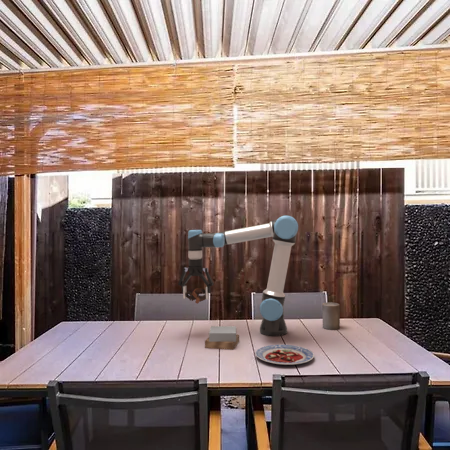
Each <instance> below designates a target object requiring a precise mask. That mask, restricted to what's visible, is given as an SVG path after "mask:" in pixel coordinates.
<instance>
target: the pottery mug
mask: <svg viewBox="0 0 450 450" xmlns="http://www.w3.org/2000/svg"><path fill="white" fill-rule="evenodd" d="M200 293H201V294H202V293H203V295H200ZM185 295H186V299H189V301H191V302H193V301H195V304H199V303H200V302H203V301H206V289H203V288H201V287H200V288H198V287H197V288H195V289H194V290H193V291H191V290H186V294H185Z"/></svg>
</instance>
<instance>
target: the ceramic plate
mask: <svg viewBox="0 0 450 450" xmlns="http://www.w3.org/2000/svg"><path fill="white" fill-rule="evenodd" d="M254 353H255V356H256V358H258V359H260V360H261V361H263V362H267V363H271V364H274V365H275V364H276V365H283V366H284V365H287V366H288V365H290V366H291V365H301V364H305V363H308V362H310V361H311V360H313V358H315V354H314V352H313V351H311V350H310V349H308V348H305V347H302V346H298V345H293V344H271V345H265V346H262V347H260V348H258V349H257V350H255V352H254Z"/></svg>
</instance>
